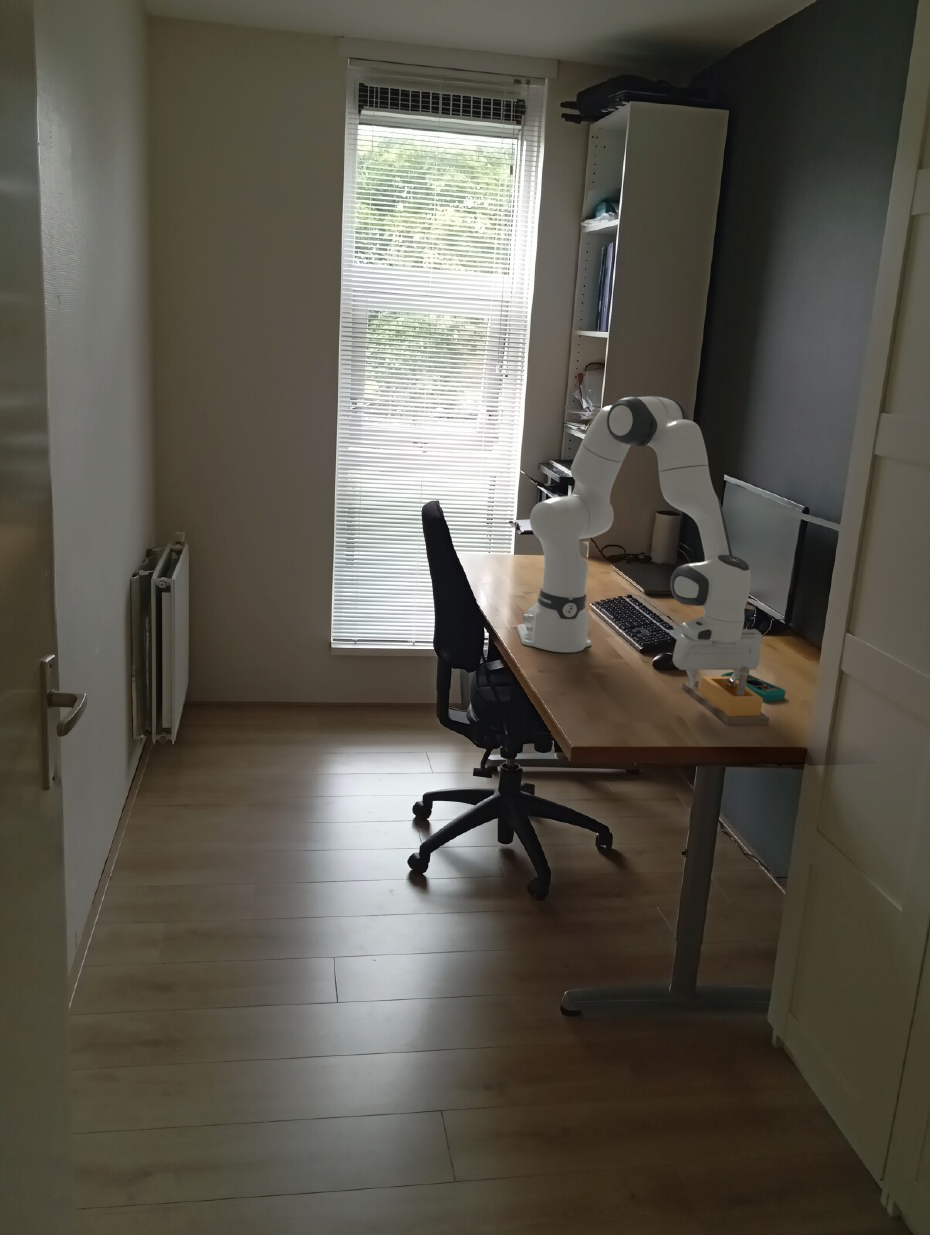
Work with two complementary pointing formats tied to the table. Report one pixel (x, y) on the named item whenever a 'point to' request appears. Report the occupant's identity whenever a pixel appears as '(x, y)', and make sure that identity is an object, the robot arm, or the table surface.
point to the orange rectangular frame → (730, 697)
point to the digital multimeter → (762, 688)
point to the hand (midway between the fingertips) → (711, 687)
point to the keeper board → (727, 719)
